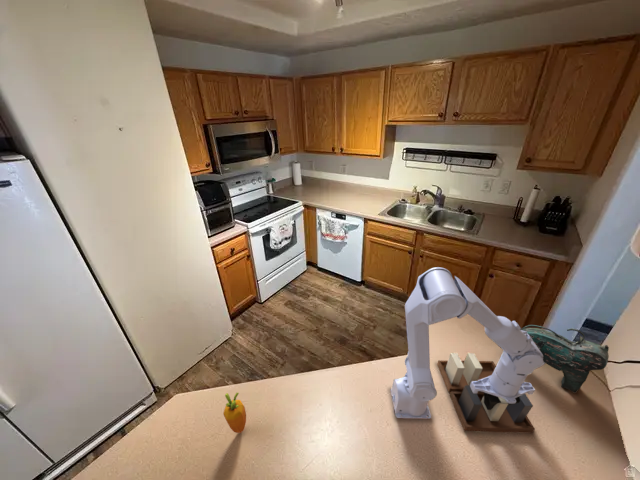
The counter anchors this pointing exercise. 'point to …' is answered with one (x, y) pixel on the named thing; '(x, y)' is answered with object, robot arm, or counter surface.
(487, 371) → the shallow brown tray
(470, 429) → the dark wooden tray
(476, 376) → the cream book
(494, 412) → the cream book
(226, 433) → the counter surface
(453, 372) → the cream book
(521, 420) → the charcoal book
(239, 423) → the carrot
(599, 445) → the counter surface
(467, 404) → the charcoal book
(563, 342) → the green mottled arch
